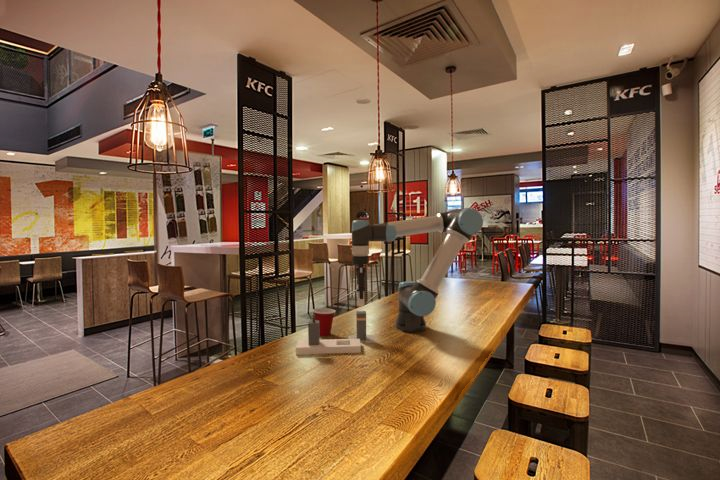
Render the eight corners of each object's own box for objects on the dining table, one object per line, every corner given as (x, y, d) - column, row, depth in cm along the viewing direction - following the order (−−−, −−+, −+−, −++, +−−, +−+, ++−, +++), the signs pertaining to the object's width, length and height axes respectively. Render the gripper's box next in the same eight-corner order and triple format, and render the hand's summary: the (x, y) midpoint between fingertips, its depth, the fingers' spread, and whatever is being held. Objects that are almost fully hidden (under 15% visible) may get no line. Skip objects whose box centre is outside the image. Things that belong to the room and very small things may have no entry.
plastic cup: (340, 335, 170) (340, 309, 170) (322, 340, 163) (321, 314, 162) (326, 329, 178) (326, 305, 178) (308, 334, 171) (307, 309, 170)
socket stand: (359, 345, 156) (359, 311, 155) (360, 353, 147) (360, 316, 146) (298, 347, 155) (297, 312, 154) (295, 355, 146) (295, 318, 145)
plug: (365, 337, 166) (365, 311, 165) (366, 340, 161) (366, 313, 161) (356, 337, 165) (356, 311, 165) (356, 340, 161) (356, 313, 160)
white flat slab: (373, 335, 169) (373, 334, 169) (375, 343, 159) (375, 342, 159) (347, 336, 168) (347, 335, 168) (348, 343, 158) (348, 342, 158)
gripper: (351, 252, 173) (351, 296, 175) (352, 258, 148) (352, 309, 150) (367, 252, 174) (367, 296, 175) (370, 258, 149) (370, 309, 150)
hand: (360, 302), depth 162 cm, fingers open, 13 cm apart
